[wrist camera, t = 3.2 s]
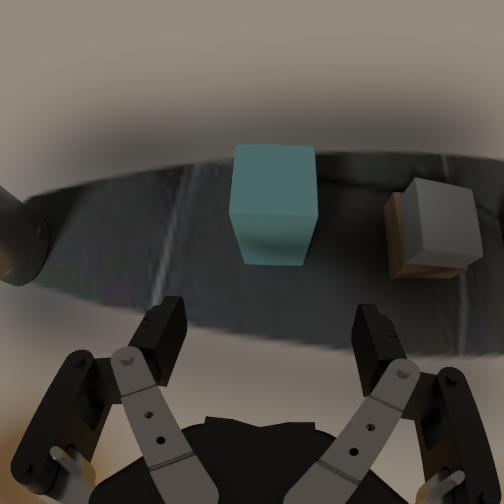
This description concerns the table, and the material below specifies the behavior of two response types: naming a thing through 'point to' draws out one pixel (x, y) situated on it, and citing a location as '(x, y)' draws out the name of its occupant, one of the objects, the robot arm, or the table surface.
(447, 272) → the tower base
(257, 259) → the block
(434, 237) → the tower top
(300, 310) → the table surface
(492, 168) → the table surface
